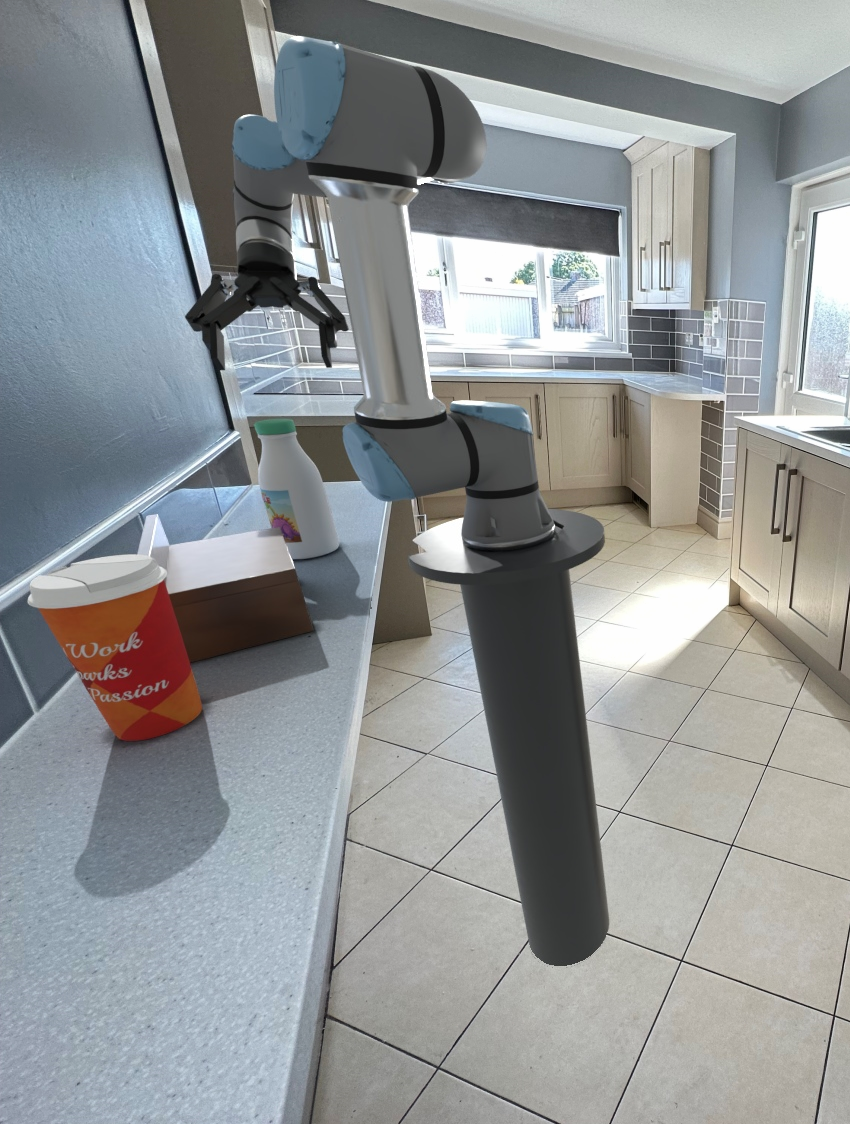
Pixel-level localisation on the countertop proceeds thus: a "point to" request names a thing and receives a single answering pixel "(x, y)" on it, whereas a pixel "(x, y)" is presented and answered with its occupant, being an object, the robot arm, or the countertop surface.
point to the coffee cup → (122, 642)
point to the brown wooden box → (229, 589)
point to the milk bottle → (294, 492)
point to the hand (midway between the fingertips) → (274, 363)
